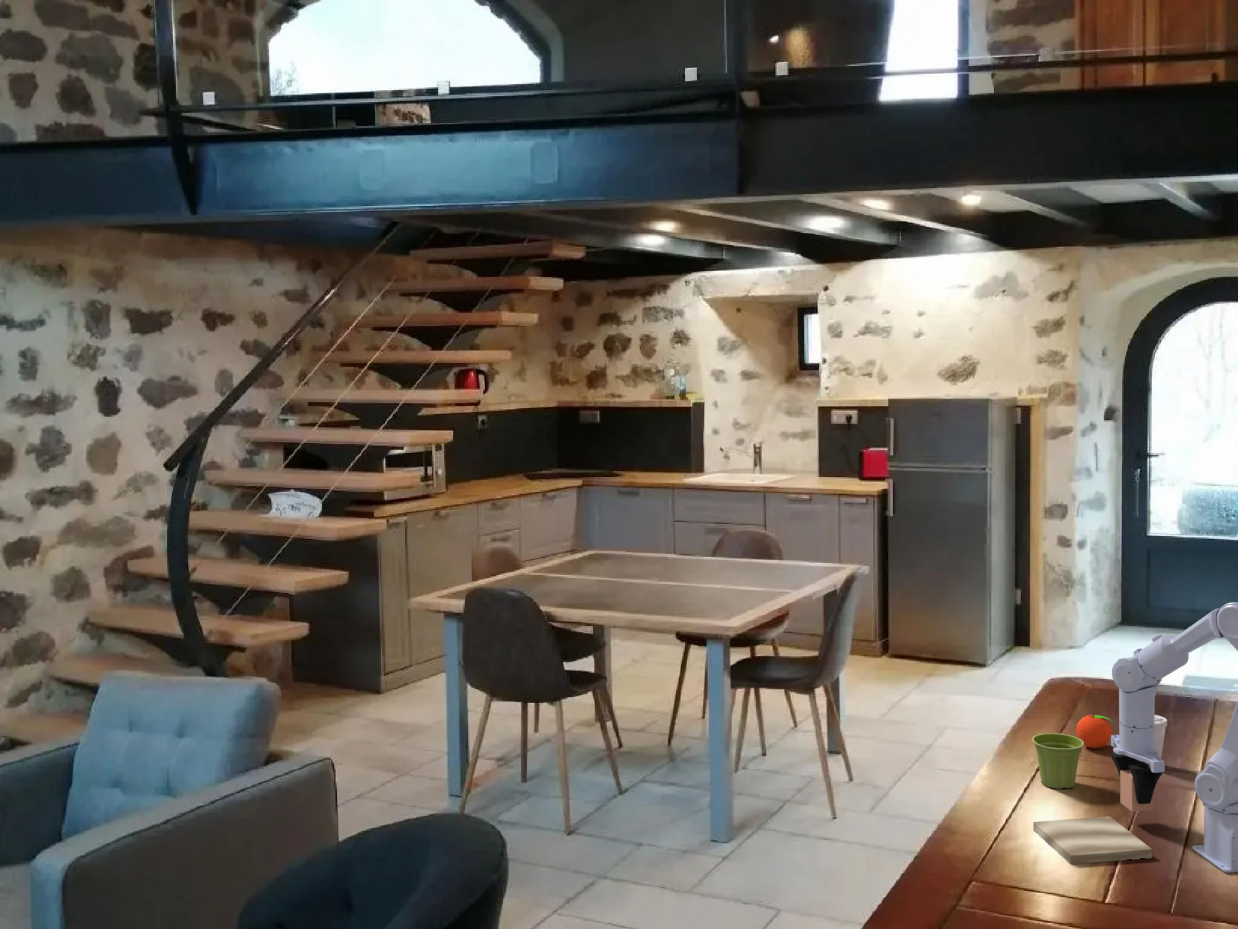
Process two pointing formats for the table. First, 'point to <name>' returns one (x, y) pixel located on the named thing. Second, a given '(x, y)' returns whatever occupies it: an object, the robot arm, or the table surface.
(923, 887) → the table surface
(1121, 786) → the block
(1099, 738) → the clementine
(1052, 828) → the board
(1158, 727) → the smoothie
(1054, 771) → the plant pot
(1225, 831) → the robot arm
